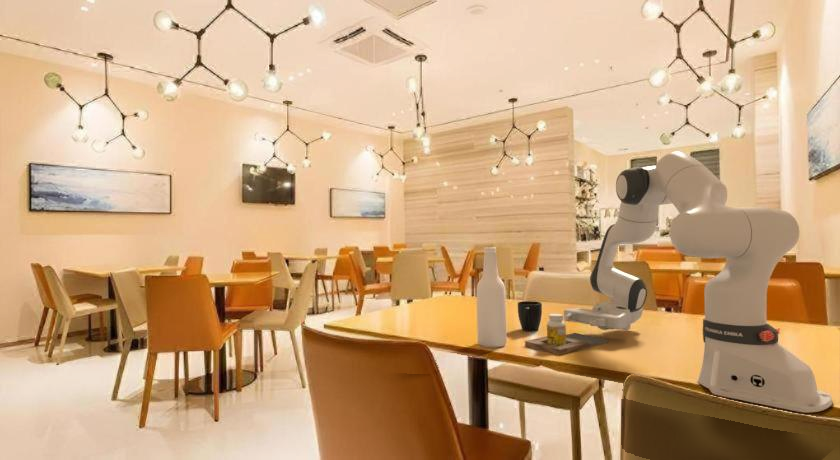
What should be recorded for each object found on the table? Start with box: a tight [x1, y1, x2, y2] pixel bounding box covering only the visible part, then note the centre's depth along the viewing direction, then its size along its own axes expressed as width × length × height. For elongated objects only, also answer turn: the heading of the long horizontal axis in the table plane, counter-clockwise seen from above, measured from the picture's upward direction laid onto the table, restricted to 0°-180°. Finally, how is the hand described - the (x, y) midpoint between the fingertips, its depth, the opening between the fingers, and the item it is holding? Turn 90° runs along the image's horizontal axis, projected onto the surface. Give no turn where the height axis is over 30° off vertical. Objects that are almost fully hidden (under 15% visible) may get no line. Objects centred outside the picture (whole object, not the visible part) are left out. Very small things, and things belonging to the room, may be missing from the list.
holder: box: [524, 335, 590, 356], centre depth 135 cm, size 13×13×2 cm
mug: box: [517, 300, 543, 333], centre depth 157 cm, size 8×12×10 cm
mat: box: [566, 332, 609, 348], centre depth 142 cm, size 12×9×1 cm
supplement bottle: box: [546, 313, 567, 346], centre depth 135 cm, size 5×5×10 cm
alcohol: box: [476, 246, 508, 349], centre depth 140 cm, size 9×9×30 cm
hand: (579, 320), depth 141 cm, fingers open, 8 cm apart
